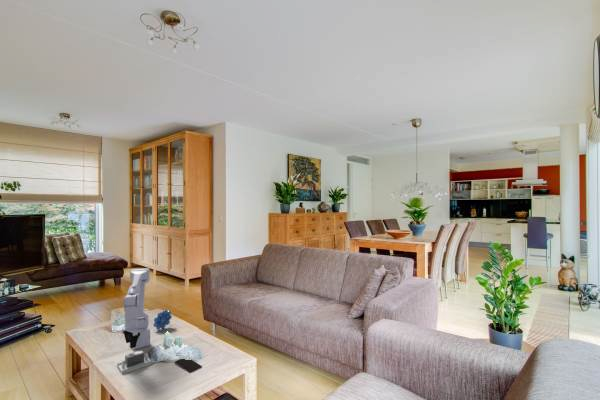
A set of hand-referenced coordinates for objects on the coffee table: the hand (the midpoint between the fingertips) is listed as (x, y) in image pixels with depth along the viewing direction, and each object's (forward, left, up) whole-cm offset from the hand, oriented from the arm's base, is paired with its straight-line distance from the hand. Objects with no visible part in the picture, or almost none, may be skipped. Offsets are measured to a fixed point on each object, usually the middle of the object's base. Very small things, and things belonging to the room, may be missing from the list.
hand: (130, 344), depth 160 cm
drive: (-1, +3, -9) cm, 9 cm away
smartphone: (-21, +21, -11) cm, 31 cm away
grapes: (-28, -35, -10) cm, 46 cm away
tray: (-1, +3, -10) cm, 10 cm away
